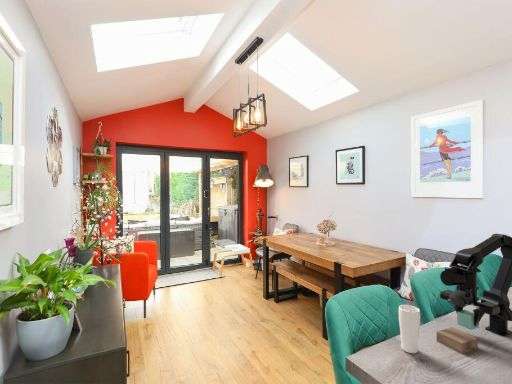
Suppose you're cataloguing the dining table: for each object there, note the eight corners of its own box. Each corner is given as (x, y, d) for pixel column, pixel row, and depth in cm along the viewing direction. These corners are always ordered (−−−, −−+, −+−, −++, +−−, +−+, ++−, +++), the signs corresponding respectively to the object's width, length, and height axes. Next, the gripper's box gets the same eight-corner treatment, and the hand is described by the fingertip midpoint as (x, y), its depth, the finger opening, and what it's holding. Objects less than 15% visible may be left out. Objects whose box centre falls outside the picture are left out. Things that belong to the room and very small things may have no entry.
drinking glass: (423, 356, 95) (423, 313, 95) (402, 354, 97) (401, 311, 97) (416, 345, 102) (415, 305, 102) (396, 343, 103) (396, 303, 103)
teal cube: (464, 321, 112) (464, 309, 112) (479, 327, 107) (478, 314, 107) (457, 324, 110) (457, 311, 110) (471, 330, 105) (471, 316, 105)
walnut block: (452, 337, 108) (452, 327, 108) (477, 349, 100) (477, 338, 100) (436, 341, 105) (436, 331, 105) (461, 354, 97) (461, 343, 97)
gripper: (431, 279, 114) (431, 317, 114) (483, 294, 97) (483, 339, 97) (447, 276, 119) (448, 312, 118) (500, 289, 102) (501, 332, 101)
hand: (468, 323), depth 109 cm, fingers closed on teal cube, 5 cm apart
